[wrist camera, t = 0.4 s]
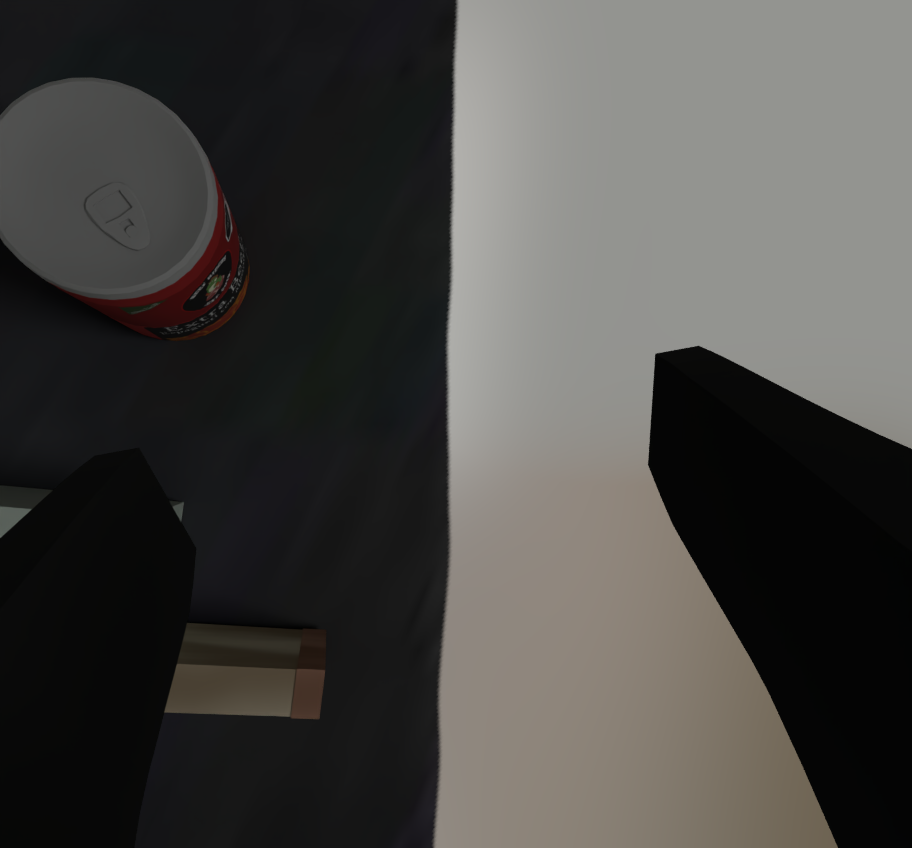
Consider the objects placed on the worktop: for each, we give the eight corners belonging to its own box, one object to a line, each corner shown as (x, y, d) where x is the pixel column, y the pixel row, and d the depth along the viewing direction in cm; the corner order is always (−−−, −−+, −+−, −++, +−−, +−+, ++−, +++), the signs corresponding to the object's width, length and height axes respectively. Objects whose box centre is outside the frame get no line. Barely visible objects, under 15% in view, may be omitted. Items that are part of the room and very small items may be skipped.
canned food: (189, 373, 33) (121, 340, 22) (58, 274, 32) (-80, 189, 21) (283, 263, 34) (261, 181, 24) (159, 163, 33) (76, 29, 22)
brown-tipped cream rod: (321, 669, 34) (319, 719, 28) (29, 656, 31) (-43, 707, 25) (326, 629, 34) (325, 669, 28) (35, 612, 31) (-35, 653, 25)
